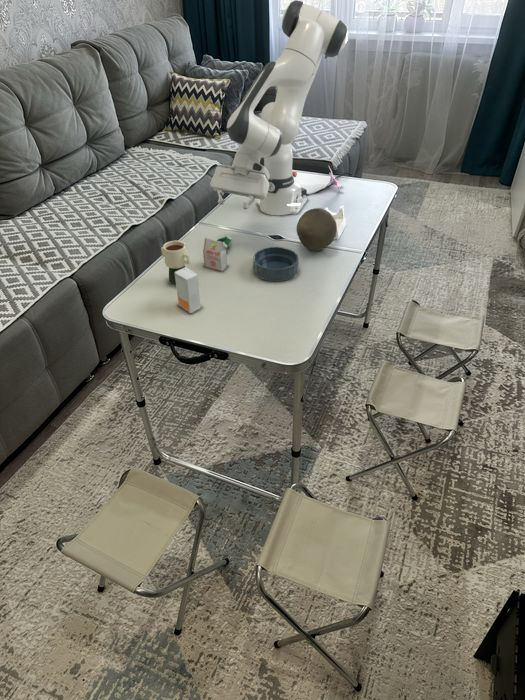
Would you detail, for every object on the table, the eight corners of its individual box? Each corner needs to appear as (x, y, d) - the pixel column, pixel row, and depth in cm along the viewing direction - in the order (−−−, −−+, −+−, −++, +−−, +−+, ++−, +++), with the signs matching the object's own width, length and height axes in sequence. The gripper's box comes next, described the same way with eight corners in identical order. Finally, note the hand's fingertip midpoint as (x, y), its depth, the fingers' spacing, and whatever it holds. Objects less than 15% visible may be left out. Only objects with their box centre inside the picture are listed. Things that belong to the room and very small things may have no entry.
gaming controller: (216, 260, 181) (227, 250, 177) (209, 252, 179) (220, 242, 176) (223, 247, 188) (234, 238, 184) (216, 240, 186) (226, 231, 183)
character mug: (198, 280, 167) (195, 245, 158) (185, 291, 162) (181, 254, 154) (172, 272, 171) (167, 237, 163) (158, 282, 166) (153, 246, 158)
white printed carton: (210, 262, 176) (208, 235, 170) (227, 266, 174) (225, 239, 167) (204, 266, 174) (202, 240, 167) (221, 271, 171) (219, 244, 165)
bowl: (267, 255, 179) (267, 243, 176) (305, 266, 173) (306, 253, 170) (245, 275, 169) (244, 261, 166) (284, 287, 164) (284, 273, 160)
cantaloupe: (293, 241, 188) (294, 202, 178) (331, 240, 189) (334, 201, 179) (298, 260, 177) (300, 220, 167) (338, 258, 178) (342, 218, 168)
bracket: (328, 225, 200) (325, 207, 196) (346, 224, 197) (343, 205, 193) (320, 240, 190) (316, 221, 186) (338, 238, 187) (335, 219, 183)
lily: (333, 200, 219) (346, 180, 214) (311, 185, 220) (324, 165, 216) (340, 198, 229) (352, 179, 225) (319, 184, 231) (331, 165, 226)
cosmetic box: (178, 305, 155) (173, 271, 148) (189, 300, 158) (185, 266, 150) (190, 314, 152) (186, 279, 144) (201, 308, 154) (198, 274, 147)
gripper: (214, 158, 173) (202, 197, 172) (269, 168, 166) (257, 207, 166) (221, 167, 179) (209, 204, 178) (274, 176, 172) (262, 215, 172)
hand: (232, 206), depth 172 cm, fingers open, 8 cm apart
